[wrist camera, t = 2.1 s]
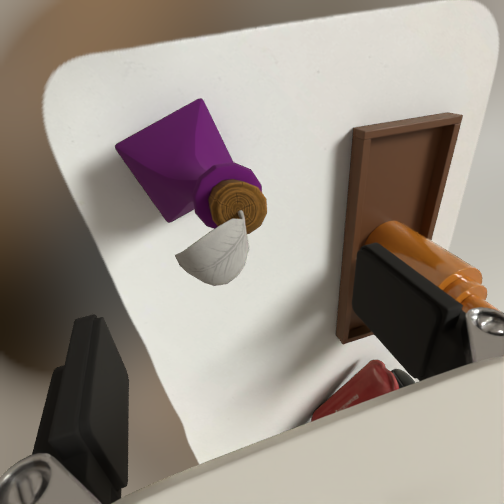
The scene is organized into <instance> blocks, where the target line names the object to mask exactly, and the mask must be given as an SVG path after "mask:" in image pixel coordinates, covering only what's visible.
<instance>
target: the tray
mask: <svg viewBox="0 0 504 504" xmlns="http://www.w3.org/2000/svg"><path fill="white" fill-rule="evenodd" d="M462 117H463V115H459V114H453V113H442V114H435V115H429V116H423V117H417V118H411V119H405V120H398V121H392V122H386V123H380V124H374V125H368V126H361V127H355V128H353V139H352V151H351V162H350V174H349V186H348V198H347V210H346V221H345V233H344V245H343V257H342V268H341V280H340V292H339V304H338V315H337V327H336V336H337V337H338V338H339V340H340V341H341V343H342V344H346V343H349V342H352V341H355V340H358V339H361V338H364V337H367V336H370V335H374V334H373V332H372V331H371V330H370V329H369V328H368V327H367V326H366V325H365V323H364V322H363V321H362V320H361V319H360V318H359V317H358V316H357V314H356V313H355V312H354V310H353V308H352V296H353V286H354V277H355V267H356V258H357V252H358V251H359V250H360V248H361V247H362V246H364V245H365V242H366V240H367V238H368V237H369V235H370V234H371V233H372V231H373V230H374V229H376V228H377V227H378V226H380V225H381V224H383V223H385V222H388V221H400V222H402V223H403V224H405V225H407V226H408V227H410V228H412V229H413V230H415V231H416V232H418V233H420V234H421V235H423V236H424V237H426V238H428V239H429V240H432V236H433V232H434V228H435V224H436V220H437V216H438V212H439V208H440V204H441V200H442V196H443V192H444V188H445V184H446V180H447V176H448V172H449V168H450V164H451V161H452V157H453V153H454V149H455V145H456V141H457V137H458V133H459V129H460V125H461V121H462Z"/></svg>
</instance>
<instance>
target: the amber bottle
mask: <svg viewBox="0 0 504 504" xmlns="http://www.w3.org/2000/svg"><path fill="white" fill-rule="evenodd" d="M371 243H379V244H380V245H382V246H383V247H384V248H386V249H387V250H389V251H390V252H391V253H393V254H394V255H395V256H397V257H398V258H399V259H401V260H402V261H403V262H405V263H406V264H408V265H409V266H410V267H412V268H413V269H414V270H416V271H417V272H418V273H420V274H421V275H423V276H424V277H425V278H427V279H428V280H429V281H431V282H432V283H433V284H435V285H436V286H438V287H439V288H440V289H442V290H443V291H444V292H446V293H447V294H448V295H450V296H451V297H452V298H454V299H455V300H457V301H458V302H459V303H461V304H462V305H463V307H462V310H463V311H464V312H465V313H467V312H468V311H469V310H470V309H473V308H478V307H484V308H491V309H495V310H498V309H497V308H495V307H494V306H492V305H491V304H489V303H488V302H486V301H485V300H486V297H487V289H486V288H485V287H484V286H483V285H481V284H482V275H481V273H480V271H479V270H478V269H476V268H475V267H473V266H471V265H470V264H468V263H467V262H465V261H463V260H462V259H460V258H458V257H457V256H455V255H454V254H452V253H450V252H449V251H447V250H446V249H444V248H442V247H441V246H439V245H437V244H436V243H434V242H433V241H431V240H429V239H428V238H426V237H424V236H423V235H421V234H420V233H418V232H416V231H415V230H413V229H412V228H410V227H408V226H407V225H405V224H403V223H402V222H400V221H388V222H385V223H383V224H381V225H380V226H378V227H377V228H376V229H374V230H373V231H372V233H371V234H370V235H369V237H368V238H367V240H366V242H365V245H368V244H371ZM498 311H500V310H498ZM500 312H501V311H500Z"/></svg>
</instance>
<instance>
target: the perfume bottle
mask: <svg viewBox="0 0 504 504" xmlns="http://www.w3.org/2000/svg"><path fill="white" fill-rule="evenodd" d="M115 149H116V151H117V152H118V153H119V155H120V156H121V158H122V159H123V160H124V162H125V163H126V165H127V166H128V168H129V169H130V170H131V172H132V173H133V175H134V176H135V178H136V179H137V180H138V182H139V183H140V185H141V186H142V187H143V189H144V190H145V192H146V193H147V195H148V196H149V197H150V199H151V200H152V202H153V203H154V204H155V206H156V207H157V209H158V210H159V212H160V213H161V214H162V216H163V217H164V219H165V220H166V221H167V222H168V223H169V222H172V221H174V220H176V219H178V218H180V217H181V216H183V215H185V214H187V213H189V212H190V211H192V210H194V209H195V213H196V214H197V216H198V217H199V218H200V219H201V220H202V221H203V223H204V224H205V225H206V226H208V227H211V228H214V230H212V231H211V232H209V233H208V234H206V235H205V236H204V237H202V238H201V239H199V240H198V241H197V242H195V243H194V244H192V245H191V246H190V247H188V248H187V249H186V250H184V251H183V252H181V253H179V254H176V255H175V257H176V259H177V261H178V263H179V265H180V266H181V267H182V268H183V269H184V270H185V271H186V272H187V273H189V274H191V275H192V276H194V277H196V278H197V279H199V280H201V281H202V282H204V283H207V284H210V285H213V286H217V285H223V284H228V283H229V282H230V281H232V280H233V279H234V278H236V277H237V276H238V275H239V273H240V272H241V270H242V269H243V267H244V266H245V263H246V259H247V255H248V251H249V243H248V238H247V234H250V233H251V232H253V231H254V230H255V229H257V228H258V227H260V226H261V224H262V222H263V220H264V218H265V216H266V214H267V202H266V198H265V196H264V195H263V194H262V186H261V184H260V182H259V181H258V179H257V178H256V176H255V175H254V173H253V172H252V170H251V169H249V168H246V167H244V166H241V165H239V164H236V163H234V162H233V161H232V158H231V156H230V154H229V152H228V150H227V148H226V146H225V144H224V142H223V140H222V138H221V136H220V134H219V132H218V130H217V127H216V125H215V123H214V121H213V119H212V117H211V115H210V113H209V111H208V109H207V107H206V105H205V103H204V101H203V100H202V99H197V100H195V101H193V102H192V103H190V104H188V105H186V106H184V107H182V108H181V109H179V110H177V111H175V112H173V113H172V114H170V115H168V116H166V117H164V118H163V119H161V120H159V121H157V122H155V123H154V124H152V125H150V126H148V127H146V128H144V129H143V130H141V131H139V132H137V133H135V134H134V135H132V136H130V137H128V138H126V139H125V140H123V141H121V142H119V143H117V144H116V145H115Z"/></svg>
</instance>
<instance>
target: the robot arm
mask: <svg viewBox="0 0 504 504" xmlns="http://www.w3.org/2000/svg"><path fill="white" fill-rule="evenodd" d="M462 307H463V305H462V304H461V303H459V302H458V301H457V300H455V299H454V298H452V297H451V296H450V295H448V294H447V293H446V292H444V291H443V290H442V289H440V288H439V287H438V286H436V285H435V284H433V283H432V282H431V281H429V280H428V279H427V278H425V277H424V276H423V275H421V274H420V273H418V272H417V271H416V270H414V269H413V268H412V267H410V266H409V265H408V264H406V263H405V262H403V261H402V260H401V259H399V258H398V257H397V256H395V255H394V254H393V253H391V252H390V251H389V250H387V249H386V248H384V247H383V246H382V245H380V244H379V243H371V244H368V245H364V246H362V247H361V248H360V250H359V251H358V252H357V258H356V267H355V277H354V286H353V296H352V308H353V310H354V312H355V313H356V314H357V316H358V317H359V318H360V319H361V320H362V321H363V322H364V323H365V325H366V326H367V327H368V328H369V329H370V330H371V331H372V332H373V334H374V335H375V336H376V337H377V338H378V339H379V340H380V341H381V343H382V344H383V345H384V346H385V347H386V348H387V349H388V350H389V352H390V353H391V354H392V355H393V356H394V357H395V358H396V359H397V361H398V362H399V363H400V364H401V365H402V366H403V367H404V368H405V370H406V371H407V372H408V373H409V374H410V375H411V376H412V377H414V378H417V379H418V380H419V382H416V383H414V384H411V385H408V386H406V387H403V388H400V389H398V390H395V391H392V392H389V393H387V394H384V395H381V396H379V397H376V398H373V399H370V400H368V401H365V402H362V403H360V404H357V405H354V406H352V407H349V408H346V409H344V410H341V411H338V412H336V413H333V414H330V415H328V416H325V417H322V418H320V419H317V420H315V421H312V422H309V423H307V424H304V425H301V426H299V427H296V428H293V429H291V430H288V431H285V432H283V433H280V434H278V435H275V436H272V437H270V438H267V439H264V440H262V441H259V442H257V443H254V444H251V445H249V446H246V447H244V448H241V449H238V450H236V451H233V452H230V453H228V454H225V455H223V456H220V457H217V458H215V459H212V460H210V461H207V462H205V463H202V464H200V465H197V466H195V467H192V468H190V469H187V470H185V471H182V472H180V473H177V474H175V475H172V476H170V477H167V478H165V479H162V480H160V481H157V482H155V483H153V484H151V485H148V486H146V487H144V488H142V489H139V490H137V491H135V492H133V493H131V494H128V495H126V496H125V497H123V498H121V488H124V487H126V486H127V482H128V406H129V401H128V399H129V397H128V396H129V393H128V392H129V379H128V374H127V371H126V368H125V366H124V363H123V361H122V359H121V357H120V354H119V352H118V350H117V348H116V345H115V343H114V341H113V338H112V336H111V334H110V331H109V329H108V327H107V325H106V322H105V320H104V318H103V317H101V318H97V316H96V315H90V316H86V317H82V318H78V319H76V320H75V321H74V325H73V330H72V334H71V339H70V344H69V348H68V352H67V357H66V362H65V365H64V366H60V367H57V368H56V369H55V370H54V372H53V374H52V378H51V382H50V386H49V390H48V394H47V398H46V402H45V406H44V410H43V414H42V418H41V422H40V426H39V429H38V433H37V437H36V441H35V445H34V449H33V453H32V455H30V456H28V457H26V458H24V459H22V460H20V461H18V462H17V463H15V464H14V465H13V466H11V467H10V468H9V469H8V470H7V471H6V472H5V473H4V474H3V475H2V476H1V477H0V504H504V313H503V312H500V311H498V310H495V309H491V308H484V307H478V308H473V309H470V310H469V311H468V312H467V313H465V312H464V311H463V310H462Z"/></svg>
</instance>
